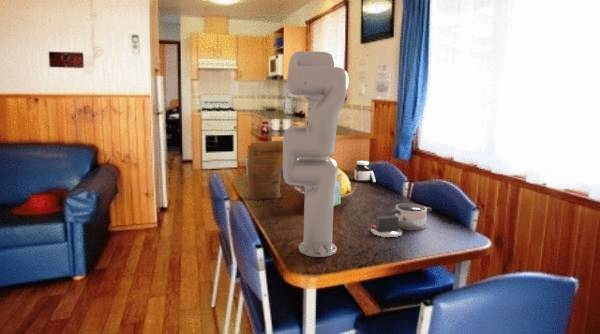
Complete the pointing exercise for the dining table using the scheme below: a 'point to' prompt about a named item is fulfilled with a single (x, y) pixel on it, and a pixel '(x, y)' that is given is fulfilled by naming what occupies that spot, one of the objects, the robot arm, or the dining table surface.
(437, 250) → the dining table surface
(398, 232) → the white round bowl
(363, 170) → the spread jar
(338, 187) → the snack box
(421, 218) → the pot
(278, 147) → the pancake mix bag
